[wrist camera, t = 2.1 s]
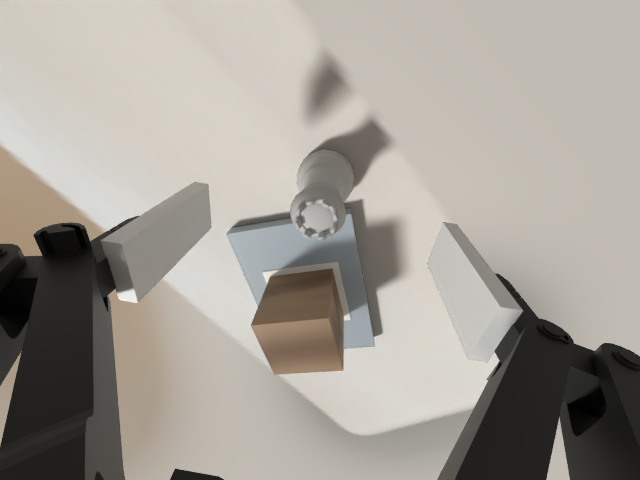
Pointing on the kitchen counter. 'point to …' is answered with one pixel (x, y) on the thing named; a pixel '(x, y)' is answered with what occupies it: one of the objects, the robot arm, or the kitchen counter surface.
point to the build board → (307, 266)
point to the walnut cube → (301, 323)
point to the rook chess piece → (322, 194)
